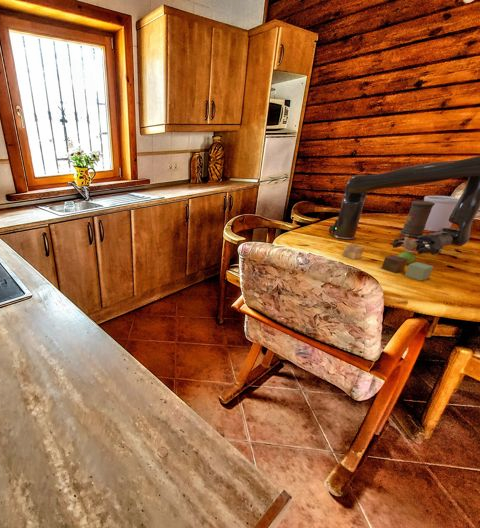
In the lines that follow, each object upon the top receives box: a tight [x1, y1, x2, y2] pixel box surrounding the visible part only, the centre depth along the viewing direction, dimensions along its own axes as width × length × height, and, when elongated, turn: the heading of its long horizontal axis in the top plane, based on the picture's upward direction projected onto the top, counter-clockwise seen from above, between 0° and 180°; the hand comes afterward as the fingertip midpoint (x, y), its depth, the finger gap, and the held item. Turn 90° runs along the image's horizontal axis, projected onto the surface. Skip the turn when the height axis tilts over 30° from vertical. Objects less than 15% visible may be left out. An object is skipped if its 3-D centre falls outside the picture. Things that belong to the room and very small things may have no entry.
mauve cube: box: [342, 243, 365, 260], centre depth 127 cm, size 5×5×5 cm
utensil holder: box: [423, 195, 460, 232], centre depth 155 cm, size 15×15×18 cm
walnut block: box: [381, 254, 408, 274], centre depth 113 cm, size 5×5×5 cm
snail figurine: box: [397, 234, 417, 265], centre depth 117 cm, size 5×6×12 cm
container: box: [399, 200, 435, 239], centre depth 147 cm, size 9×9×18 cm
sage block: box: [404, 261, 434, 282], centre depth 106 cm, size 5×5×5 cm
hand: (406, 248), depth 116 cm, fingers open, 8 cm apart
